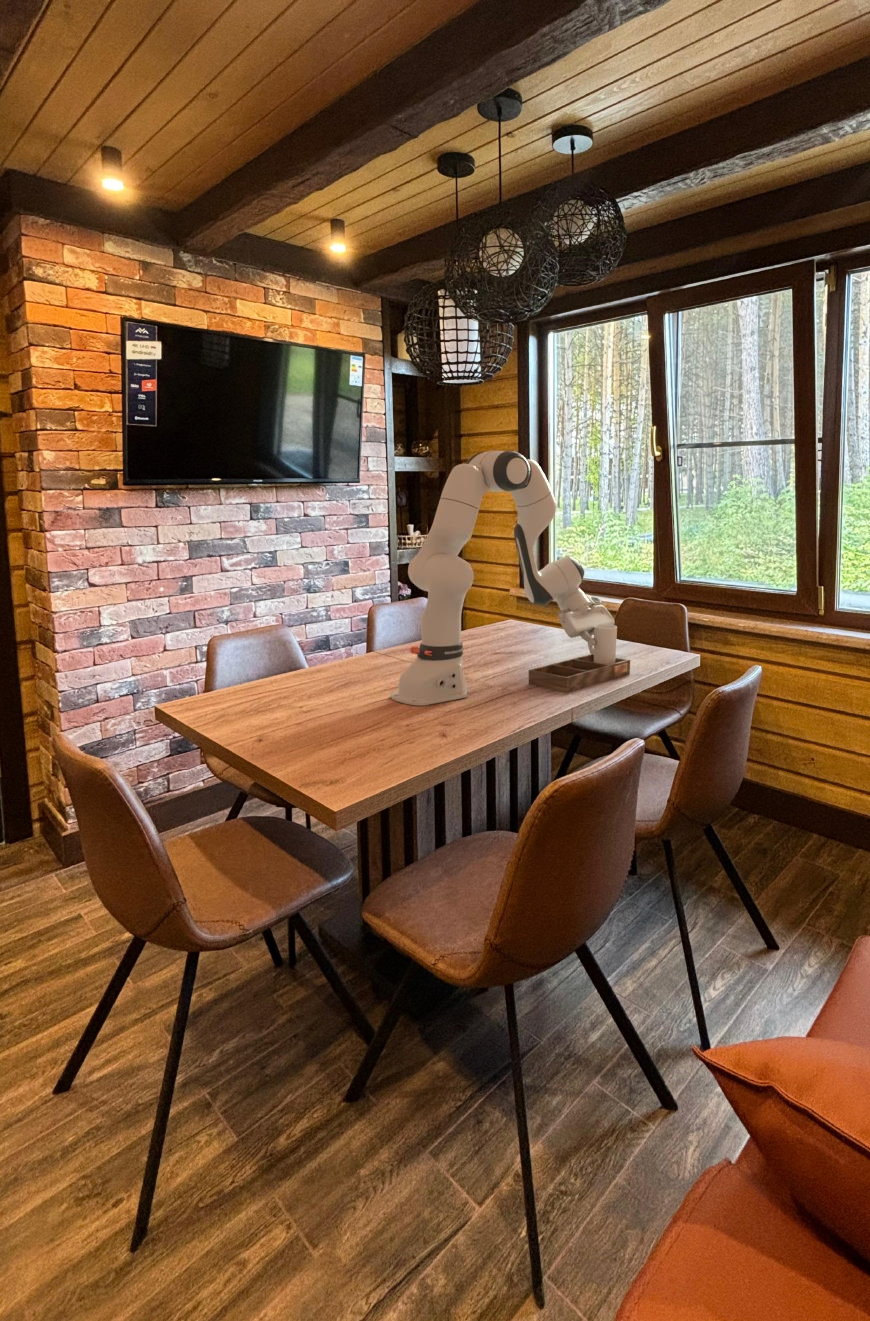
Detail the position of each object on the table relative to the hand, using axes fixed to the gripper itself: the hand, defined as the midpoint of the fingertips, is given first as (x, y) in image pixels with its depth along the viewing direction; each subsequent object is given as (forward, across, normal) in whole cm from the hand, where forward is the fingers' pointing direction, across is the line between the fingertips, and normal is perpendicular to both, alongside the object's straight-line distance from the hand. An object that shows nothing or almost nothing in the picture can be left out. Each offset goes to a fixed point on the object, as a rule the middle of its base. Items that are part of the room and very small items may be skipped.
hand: (602, 642), depth 225 cm
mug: (+4, 0, +6) cm, 7 cm away
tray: (+6, -10, +7) cm, 14 cm away
